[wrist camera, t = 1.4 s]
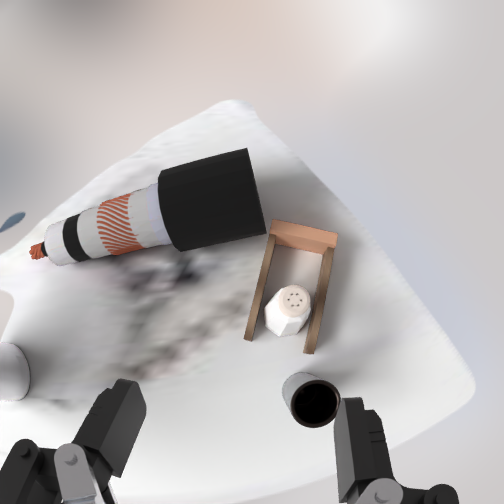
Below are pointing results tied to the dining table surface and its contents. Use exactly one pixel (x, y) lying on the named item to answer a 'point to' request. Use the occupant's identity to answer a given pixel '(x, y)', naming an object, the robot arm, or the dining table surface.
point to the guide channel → (305, 241)
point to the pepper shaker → (287, 310)
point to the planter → (311, 399)
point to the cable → (165, 213)
